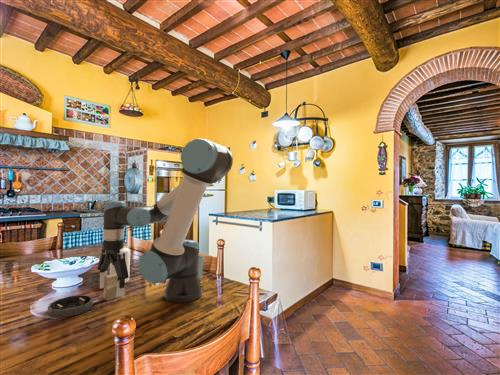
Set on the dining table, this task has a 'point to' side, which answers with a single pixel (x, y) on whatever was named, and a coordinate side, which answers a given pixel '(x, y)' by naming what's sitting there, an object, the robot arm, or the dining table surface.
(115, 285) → the tan rectangular block
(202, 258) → the cup
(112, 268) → the potion bottle
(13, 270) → the dining table surface
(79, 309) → the tin
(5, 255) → the dining table surface
